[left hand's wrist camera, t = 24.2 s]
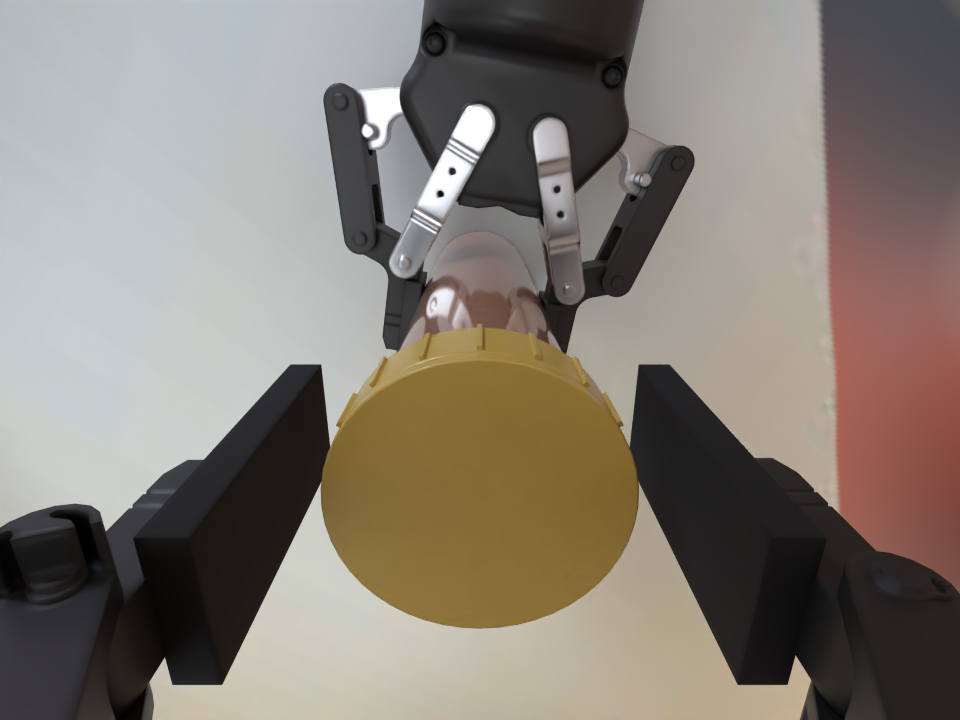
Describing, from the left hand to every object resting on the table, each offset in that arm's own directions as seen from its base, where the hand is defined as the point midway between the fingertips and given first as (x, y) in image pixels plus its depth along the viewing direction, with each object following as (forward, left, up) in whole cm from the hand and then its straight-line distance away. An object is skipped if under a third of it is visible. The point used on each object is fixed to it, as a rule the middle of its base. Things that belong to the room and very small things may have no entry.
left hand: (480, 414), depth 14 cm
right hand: (-1, +2, -10) cm, 10 cm away
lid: (0, 0, +4) cm, 4 cm away
